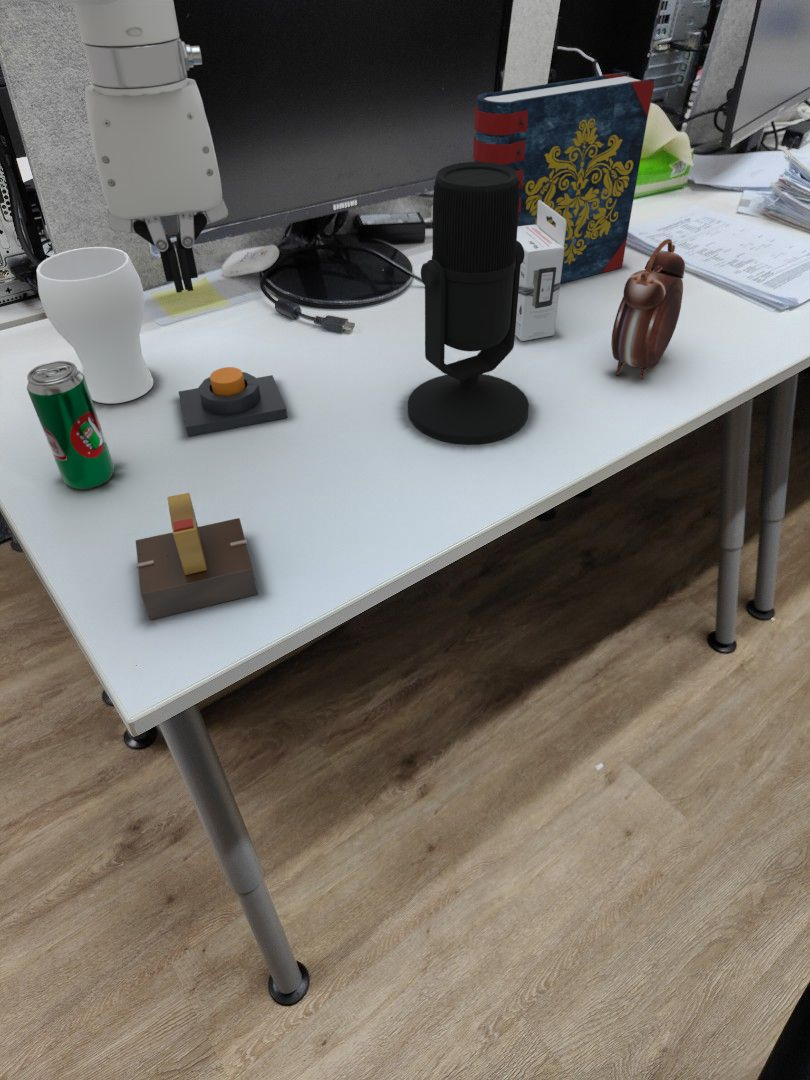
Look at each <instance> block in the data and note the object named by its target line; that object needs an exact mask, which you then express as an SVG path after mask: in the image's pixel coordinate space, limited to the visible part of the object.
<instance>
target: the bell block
mask: <svg viewBox="0 0 810 1080" xmlns="http://www.w3.org/2000/svg"><path fill="white" fill-rule="evenodd" d="M242 372H243V377H244V383H245V389H244V390H243V391H241V392H239V393H238V394H234V395H229V396H223V395H216V394H214V392H213V390H212V385H211V380H210V376H209V377H207V378H204V379H203V381H202V382H201V383H200V385H199V386H198V387H197V388H191V389H190V388H189V389H183V390H179V391H178V397H179V401H180V406H181V410H182V415H183V420H184V425H185V430H186V433H187V437H192V436H198V435H203V434H208V433H212V432H213V433H214V432H218V431H223V430H228V429H229V430H231V429H233V428H240V427H244V426H245V427H246V426H250V425H256V424H260V423H266V422H272V421H276V420H281V419H282V420H283V419H287V418H288V413H287V408H286V404H285V403H284V400H283V398H282V395H281V392H280V390H279V387H278V385H277V383H276V380H275V378H274V376H273V374H271V375H264V376H259V377H256V376H254V375H252V374H250V373H248V372H246V371H242Z"/></svg>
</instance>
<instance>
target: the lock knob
mask: <svg viewBox="0 0 810 1080" xmlns="http://www.w3.org/2000/svg"><path fill="white" fill-rule="evenodd" d="M166 499H167V506H168V511H169V518H170V524H171V531H172V532H173V536H174V539H175V543H176V546H177V550H178V553H179V556H180V560H181V563H182V567H183V570H184V574H185V575H188V574H193V573H197V572H201V571H206V570H207V567H206V562H205V557H204V552H203V547H202V542H201V537H200V532H199V528H198V527H199V524H198V520H197V518H196V513H195V509H194V506H193V502H192V498H191V494H190V492H185V493H180V494H175V495H169V496H167V497H166Z"/></svg>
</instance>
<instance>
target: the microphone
mask: <svg viewBox="0 0 810 1080" xmlns="http://www.w3.org/2000/svg"><path fill="white" fill-rule="evenodd" d="M518 215H519V179H518V175H517V172H516V171H515V170H514V169H512V168H511V167H508V166H505V165H501V164H496V163H488V162H475V161H467V162H459V163H453V164H450V165H446V166H444V167H442V168H440V169H439V170H438V171H437V173H436V176H435V179H434V185H433V196H432V253H431V254H432V255H431V259H428V260H427V261H426V262H424V263H423V264H422V266H421V268H420V278H421V281H422V283H423V285H424V356H425V360H426V361H427V362H429V363H430V364H431V365H432V366H434V367H435V368H437V369H438V370H439V371H440V372H442V373H443V374H444V375H443V374H442V375H440V376H436V377H434V378H431V379H428V380H426V381H424V382H422V383H421V384H419V385H418V386H416V388H415V389H413V391H412V392H411V393H410V395H409V396H408V400H407V416H408V418H409V420H410V422H411V424H413V425H414V427H415V428H416V429H418V430H419V431H420V432H422V433H423V434H425V435H427V436H429V437H430V438H433V439H436V440H439V441H443V442H446V443H447V442H448V443H451V444H460V445H480V444H486V443H487V444H488V443H493V442H496V441H500V440H503V439H505V438H508V437H510V436H512V435H514V434H515V433H517V432H518V431H519V430H520V429H521V428H523V426H524V425H525V424H526V422H527V420H528V417H529V408H530V404H529V400H528V397H527V396H526V394H525V393H524V392H523V391H522V389H520V388H519V387H518V386H516V385H515V384H513V383H511V382H510V381H507V380H506V379H503V378H502V377H501V378H500V377H497V376H495V375H490V374H487V373H490V372H492V371H494V370H495V369H497V367H498V366H499V365H500V364H501V363H502V362H503V361H504V359H506V357H507V356H508V355H509V354H510V353H511V352H512V350H513V349H514V347H515V341H516V335H515V329H516V316H517V304H518V292H519V279H520V267H521V264H522V262H523V260H524V248H523V246H522V244H521V243H520V242H519V241H517V228H518ZM445 346H447V347H449V348H452V349H453V350H458V351H460V352H461V351H462V352H478V353H477V354H476V355H473V356H469V357H467V358H463V359H460V360H457V361H454V362H449V363H445V355H446V354H445V353H446V351H445V349H446V348H445Z"/></svg>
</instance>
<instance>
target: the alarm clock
mask: <svg viewBox="0 0 810 1080" xmlns="http://www.w3.org/2000/svg"><path fill="white" fill-rule="evenodd" d="M665 246H667V250H662V249H663V248H664V247H665ZM675 250H676V246H675V244H673V241H672V239H670V238H667V239H665V240H664V239H663V240H662V242H660V244H659V245H658V246H657V247H656V248H655V250H654V251H653V252H652V254H651V255H650V257H649V258H648V260H647V262H646V264H645V266H644V269H642V270H637V271H636V272H634V273H632V274H631V275H630V277H628V278H627V280H626V282H625V284H624V287H623V296H622V299H621V301H620V302H619V306H618V309H617V312H616V315H615V319H614V321H613V327H612V333H611V343H610V344H611V345H610V346H611V353H612V357H613V359H614V360H616V361H617V367H616V371H615V373H614V374H615V376H619V375H620V371H621V369H622V367H623V366H624V365H628V366H630V367H634V368H640V375H639V378H640V379H644V378H645V376H644V374H645V372H646V370H652V369H654V368H655V367H656V366H657V364H659V362H660V360H661V359H662V358H663V355H664V353H665V352H666V350H667V348H668V346H669V344H670V342H671V340H672V338H673V336H674V332H675V330H676V327H677V324H678V321H679V317H680V313H681V309H682V302H683V301H682V300H683V294H684V282H683V279H684V276H685V272H686V262H685V260H684V258H683V257H682V256H681V255H679V254H678V253H675Z"/></svg>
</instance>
